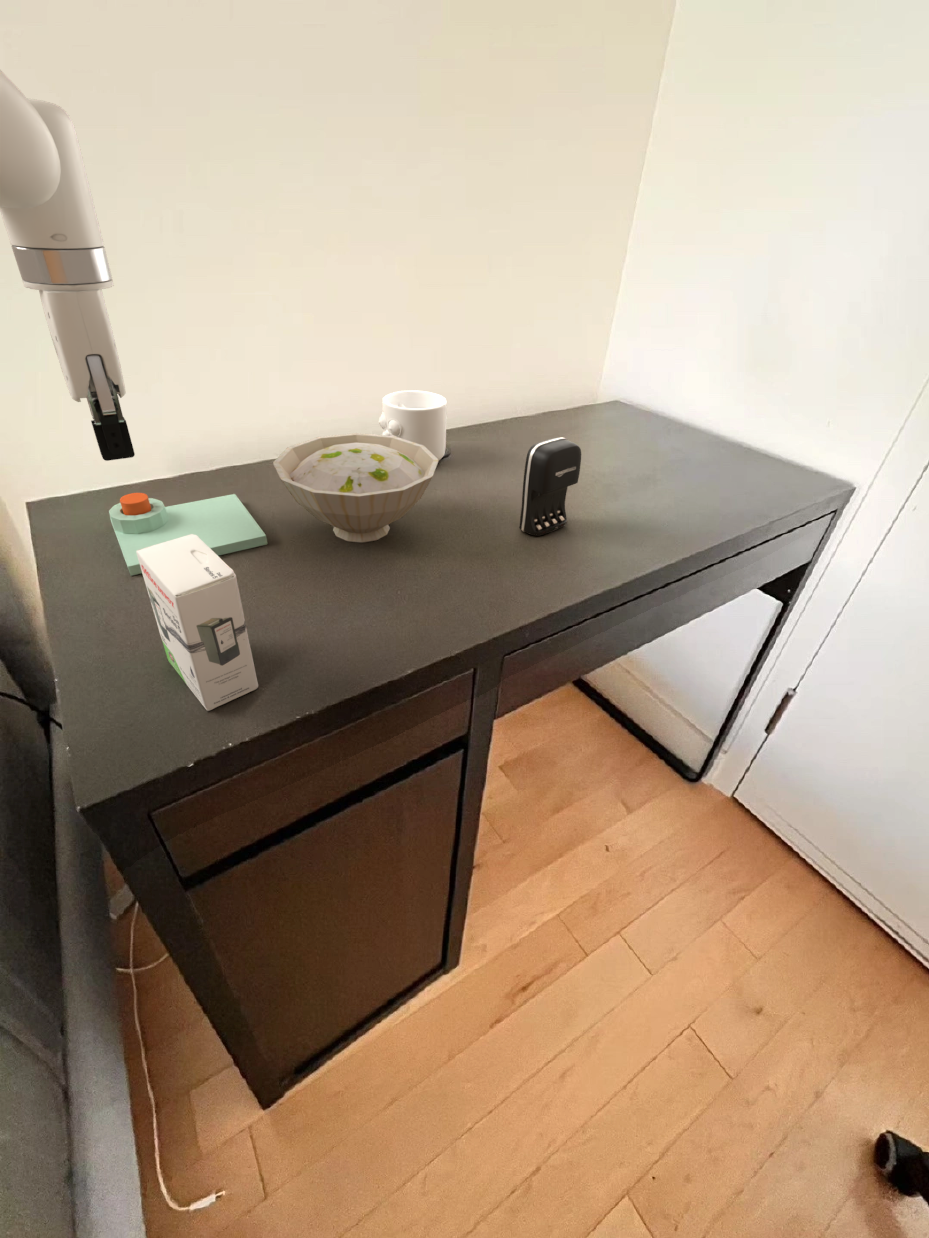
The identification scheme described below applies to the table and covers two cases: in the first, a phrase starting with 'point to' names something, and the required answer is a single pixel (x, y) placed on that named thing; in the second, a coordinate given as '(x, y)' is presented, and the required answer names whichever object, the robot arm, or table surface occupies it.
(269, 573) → the table surface
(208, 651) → the ink box
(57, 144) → the robot arm
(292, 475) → the bowl
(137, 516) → the scale
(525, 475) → the battery charger
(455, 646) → the table surface
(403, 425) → the mug
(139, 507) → the button
